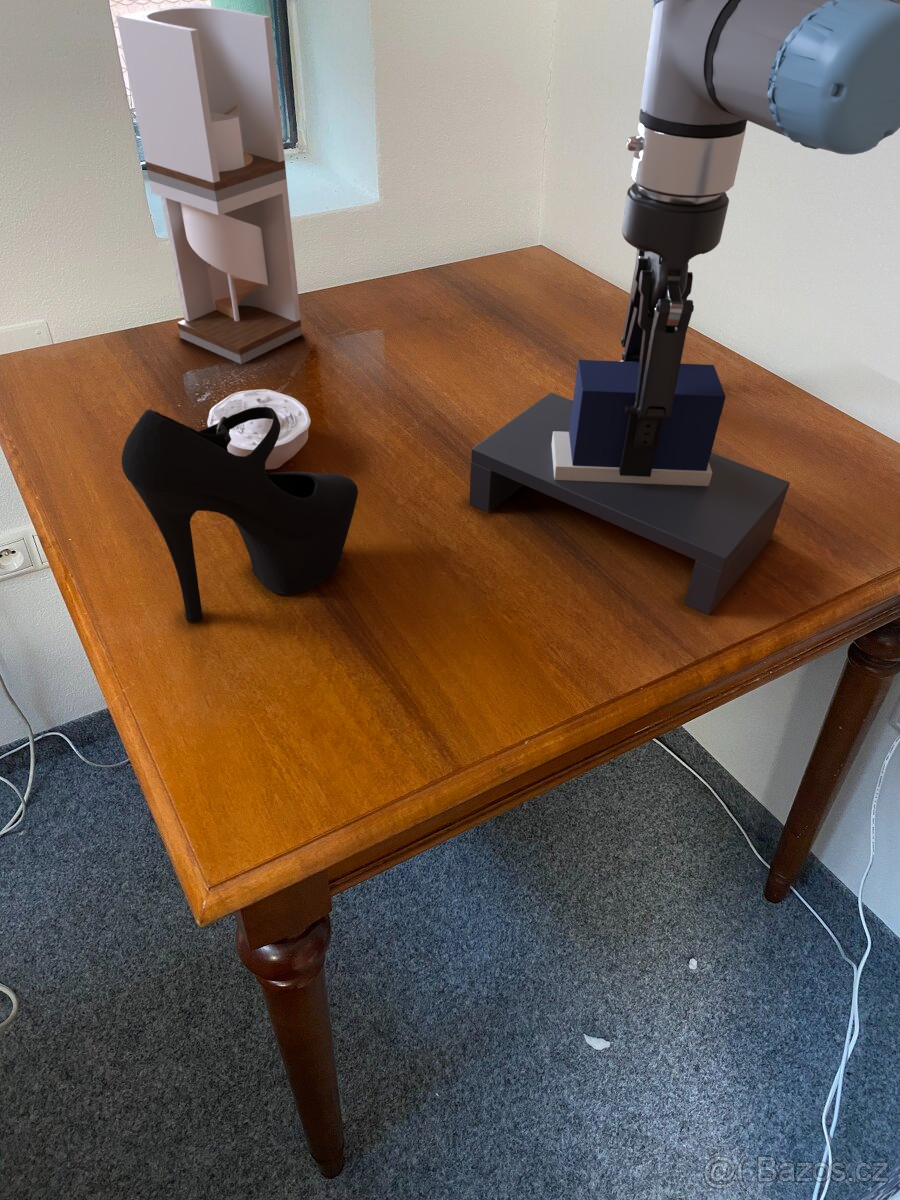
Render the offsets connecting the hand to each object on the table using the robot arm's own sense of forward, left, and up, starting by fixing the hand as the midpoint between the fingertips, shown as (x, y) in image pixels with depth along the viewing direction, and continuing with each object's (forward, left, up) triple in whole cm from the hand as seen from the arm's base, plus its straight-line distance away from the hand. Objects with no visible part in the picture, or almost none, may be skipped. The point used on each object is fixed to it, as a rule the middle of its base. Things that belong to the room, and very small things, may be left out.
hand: (630, 451), depth 81 cm
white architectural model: (+58, -4, -8) cm, 59 cm away
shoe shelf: (0, 0, -8) cm, 8 cm away
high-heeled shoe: (+20, +28, -8) cm, 35 cm away
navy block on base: (0, 0, -1) cm, 1 cm away
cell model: (+35, +14, -8) cm, 39 cm away
